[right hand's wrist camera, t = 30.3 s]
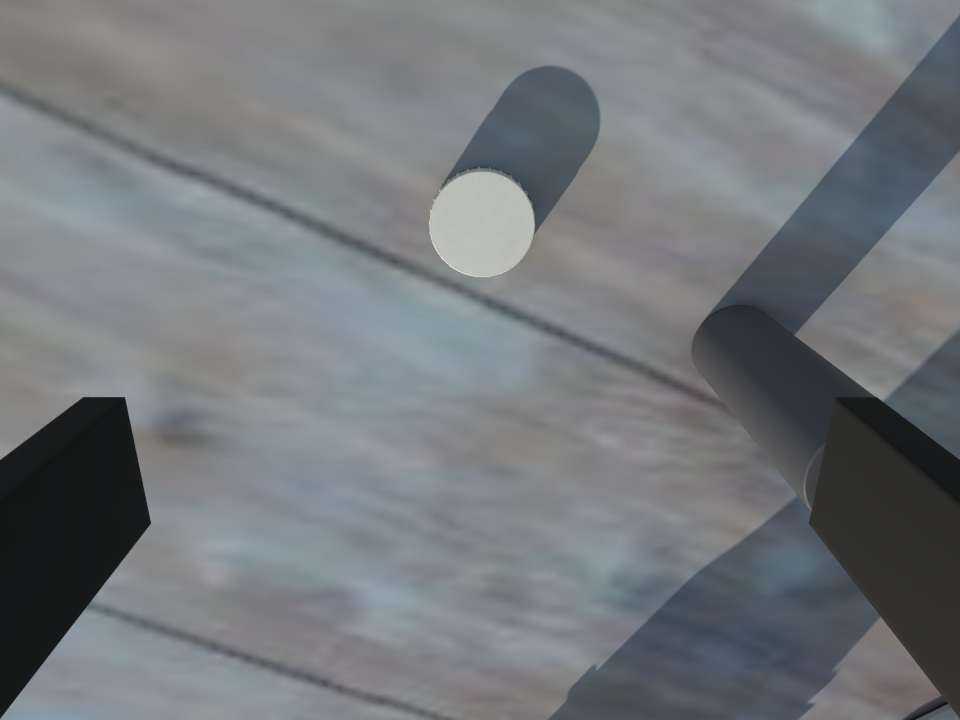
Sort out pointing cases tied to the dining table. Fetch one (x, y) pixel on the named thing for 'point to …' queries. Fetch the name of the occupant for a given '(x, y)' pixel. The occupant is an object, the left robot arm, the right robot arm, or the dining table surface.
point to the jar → (773, 389)
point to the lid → (482, 222)
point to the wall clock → (941, 714)
